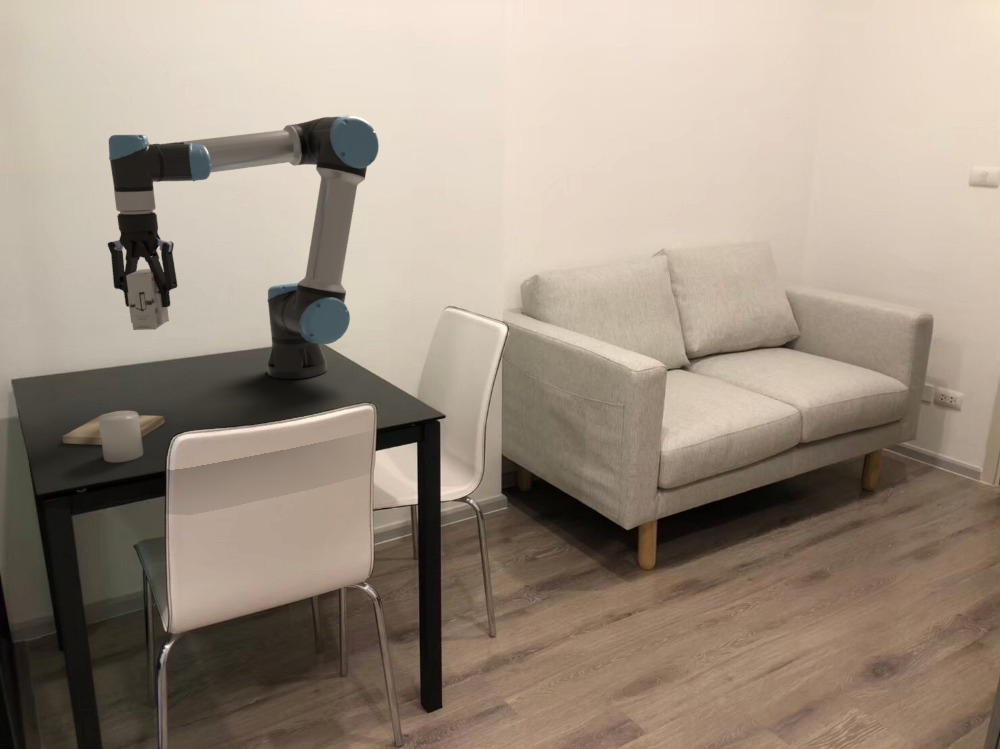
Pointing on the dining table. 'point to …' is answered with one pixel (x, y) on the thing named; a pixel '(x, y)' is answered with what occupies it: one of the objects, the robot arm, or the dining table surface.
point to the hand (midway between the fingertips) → (150, 321)
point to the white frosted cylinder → (120, 436)
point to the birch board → (91, 430)
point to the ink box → (143, 300)
